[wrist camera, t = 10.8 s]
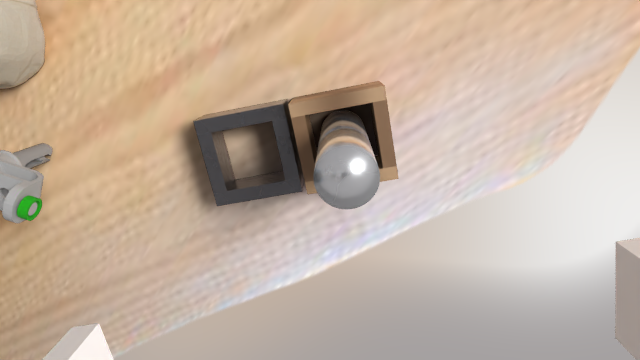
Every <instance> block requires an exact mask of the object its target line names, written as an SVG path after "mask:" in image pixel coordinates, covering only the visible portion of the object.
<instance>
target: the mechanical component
mask: <svg viewBox="0 0 640 360" xmlns="http://www.w3.org/2000/svg"><path fill="white" fill-rule="evenodd" d="M51 154H52V148H51V147H50V146H49V145H48V144H44V143H42V144H38V145H35V146H32V147H29V148H26V149H24V150H21V151H18V152H15V153H11V152H9V151H5V150H0V210H1V211H3V212H2V213H3V217H4V219H6V220H8V221H11V222H14V223H20V222H23V221H24V220H29V221H31V220H33V219H34V218H35V217H36V216H37V215H38V214H39V212H40V210H41V207H42V201H41V199H40V196H41V190H42V184H43V178H44V177H43V175H42V174H41V173H40V172H38V171H35V170H33V169H30V168H33V167H35V166H38V165H40V164H42V163H45V162H47V161H50V159H47V158H45V157H44V156H45V155H49V156H51Z"/></svg>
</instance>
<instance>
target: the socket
mask: <svg viewBox="0 0 640 360" xmlns="http://www.w3.org/2000/svg"><path fill="white" fill-rule="evenodd" d="M269 121H272V123H273V128H274V132H275V136H276V141H277V145H278V150H279V154H280V158H281V163H282V167H283V171H282V172H276V173H271V174H265V175H259V176H254V177H248V178H243V179H237V180H235V177H234V173H233V170H232V166H231V162H230V158H229V154H228V151H227V147H226V143H225V139H224V135H223V132H222V130H227V129H233V128H238V127H243V126H248V125H254V124H259V123H264V122H269ZM193 122H194V126H195V129H196V133H197V136H198V140H199V143H200V147H201V150H202V154H203V157H204V161H205V165H206V168H207V172H208V175H209V179H210V182H211V186H212V189H213V193H214V196H215V200H216V204H217V206H221V205H227V204H232V203H238V202H244V201H250V200H255V199H261V198H267V197H272V196H278V195H284V194H290V193H295V192H301V191H302V190H303V185H304V181H305V180H304V176H303V171H302V166H301V162H300V157H299V152H298V148H297V143H296V138H295V134H294V129H293V125H292V120H291V115H290V111H289V106H288V100H287V99H284V100H279V101H274V102H269V103H264V104H259V105H254V106H248V107H243V108H238V109H233V110H228V111H223V112H218V113H212V114H207V115H204V116H202V117H200V118H198V119H196V120H195V121H193Z"/></svg>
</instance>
